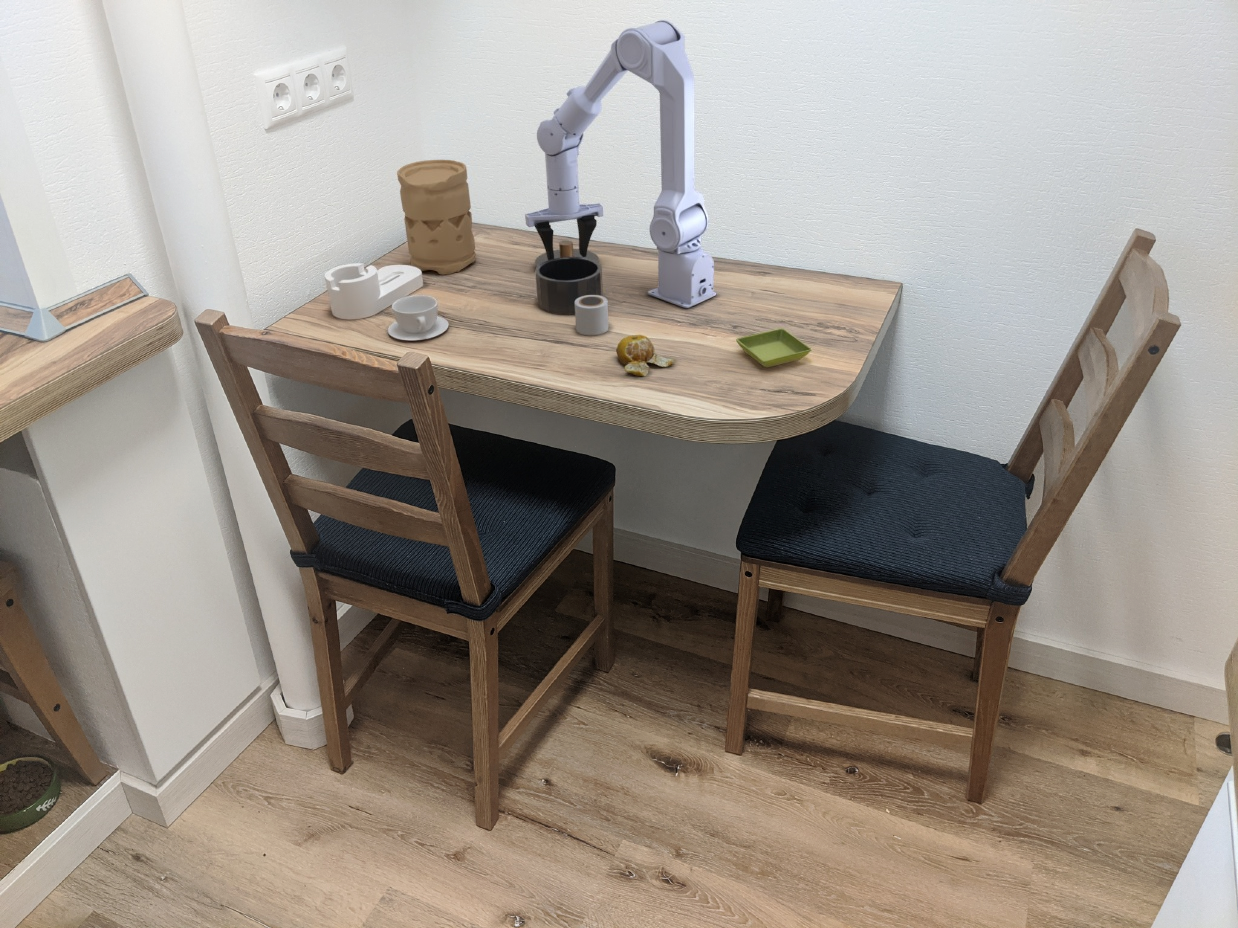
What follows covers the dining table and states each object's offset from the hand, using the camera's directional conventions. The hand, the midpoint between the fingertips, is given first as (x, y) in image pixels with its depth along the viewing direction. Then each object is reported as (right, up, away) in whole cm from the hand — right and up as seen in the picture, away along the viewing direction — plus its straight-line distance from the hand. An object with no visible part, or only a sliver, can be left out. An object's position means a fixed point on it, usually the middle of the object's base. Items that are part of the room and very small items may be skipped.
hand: (567, 257), depth 181 cm
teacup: (-24, -17, -22) cm, 36 cm away
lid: (0, -1, +1) cm, 1 cm away
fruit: (+13, -24, -34) cm, 44 cm away
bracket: (-33, -9, -10) cm, 36 cm away
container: (-24, 0, +4) cm, 24 cm away
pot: (+1, -11, -13) cm, 17 cm away
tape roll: (+5, -17, -23) cm, 29 cm away
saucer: (+34, -23, -33) cm, 52 cm away
